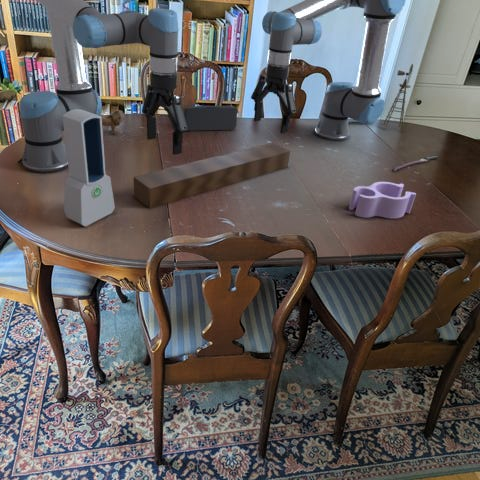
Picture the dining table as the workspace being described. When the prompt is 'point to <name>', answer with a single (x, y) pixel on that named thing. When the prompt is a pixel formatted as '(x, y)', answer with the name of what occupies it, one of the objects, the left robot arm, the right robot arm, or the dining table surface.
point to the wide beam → (208, 174)
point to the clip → (381, 200)
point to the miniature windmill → (400, 99)
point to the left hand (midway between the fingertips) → (164, 146)
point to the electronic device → (86, 169)
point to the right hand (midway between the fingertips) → (270, 126)
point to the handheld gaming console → (211, 117)
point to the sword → (415, 162)
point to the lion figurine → (113, 120)
